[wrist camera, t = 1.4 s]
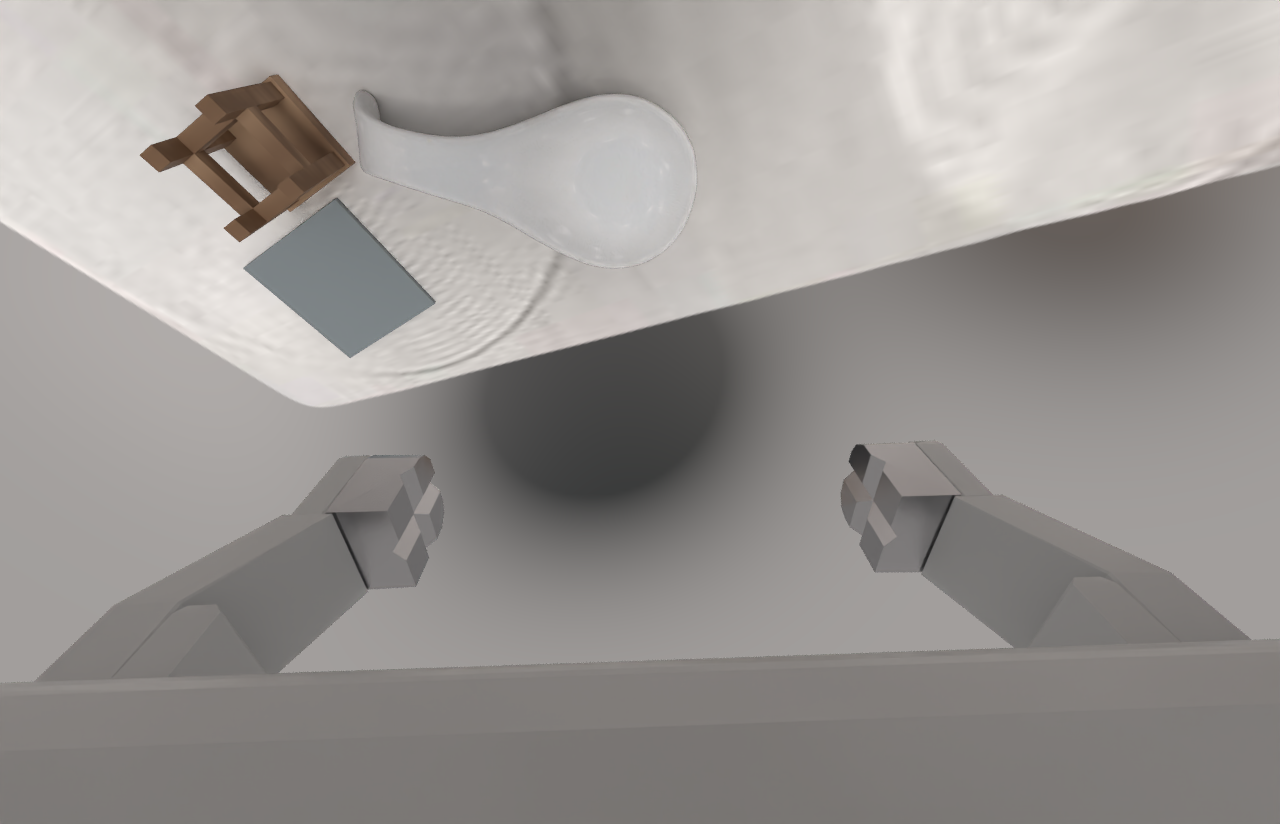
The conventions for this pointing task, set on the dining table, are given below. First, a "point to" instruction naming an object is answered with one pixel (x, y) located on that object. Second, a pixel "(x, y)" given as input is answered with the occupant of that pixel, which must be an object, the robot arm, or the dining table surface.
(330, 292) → the felt mat
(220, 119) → the stool
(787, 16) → the dining table surface
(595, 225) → the spoon rest
